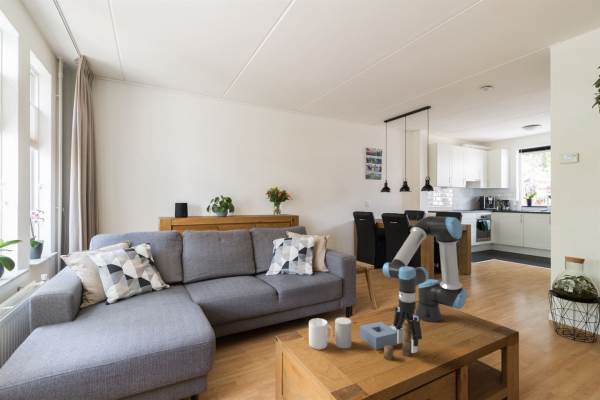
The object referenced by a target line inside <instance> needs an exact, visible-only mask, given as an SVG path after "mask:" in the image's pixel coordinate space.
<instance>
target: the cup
mask: <svg viewBox="0 0 600 400" xmlns="http://www.w3.org/2000/svg"><path fill="white" fill-rule="evenodd" d="M334 335H335V337H334V345H335V346H336V347H337V348H340V349H349V348H351V346H352V320H351V318H347V317H344V316H343V317H337V318H335V320H334Z"/></svg>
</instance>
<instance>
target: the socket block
mask: <svg viewBox="0 0 600 400" xmlns="http://www.w3.org/2000/svg"><path fill="white" fill-rule="evenodd" d="M359 338H360V339H361V340H363V341H364V342H365V343H366V344H368V345H369V346H370V347H372V348H373V349H374V350H376V351H377V350H382V349H384V346H385V345H390V346H392V347H393V346H394V347H395V346H397V345H399V344H398V343H397V330H395V329H394V328H392V327H390V326H389V325H387V324H386V323H384V322H383V321H377V322H372V323H367V324H362V325H359Z"/></svg>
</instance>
